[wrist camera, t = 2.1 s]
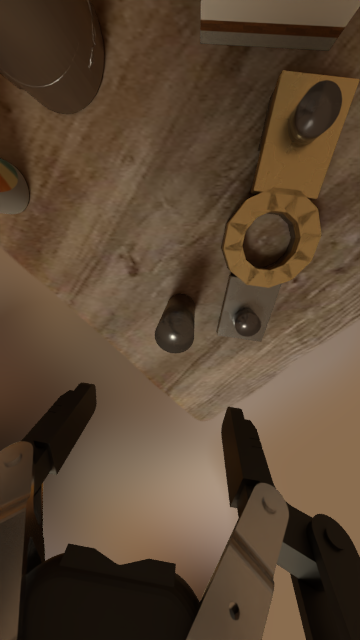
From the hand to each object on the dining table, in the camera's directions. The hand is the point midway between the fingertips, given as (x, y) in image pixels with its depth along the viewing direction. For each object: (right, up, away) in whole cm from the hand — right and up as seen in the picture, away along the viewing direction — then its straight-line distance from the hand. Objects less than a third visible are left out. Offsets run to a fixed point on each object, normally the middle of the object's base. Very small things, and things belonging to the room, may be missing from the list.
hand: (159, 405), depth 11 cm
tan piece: (+12, +15, +12) cm, 22 cm away
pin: (+1, +7, +16) cm, 18 cm away
